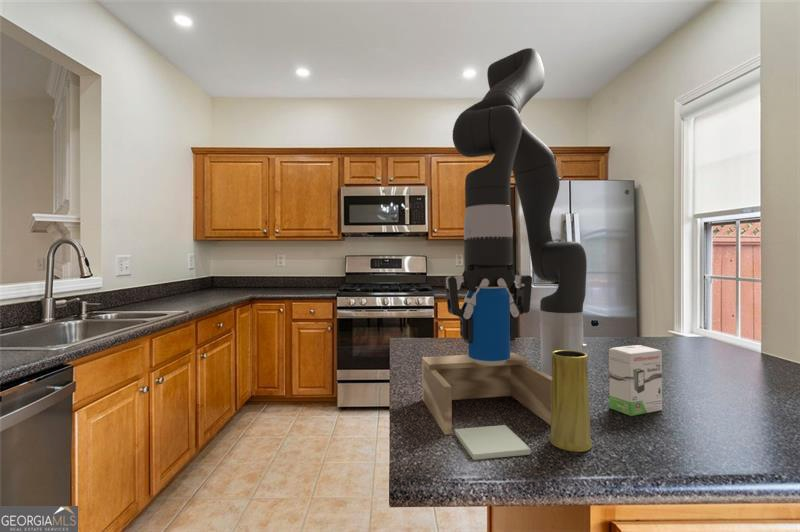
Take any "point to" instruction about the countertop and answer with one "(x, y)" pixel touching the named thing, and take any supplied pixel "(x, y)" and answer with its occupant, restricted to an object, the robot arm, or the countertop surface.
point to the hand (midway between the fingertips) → (488, 340)
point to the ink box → (635, 379)
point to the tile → (491, 442)
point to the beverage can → (490, 326)
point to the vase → (570, 401)
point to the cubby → (482, 385)
